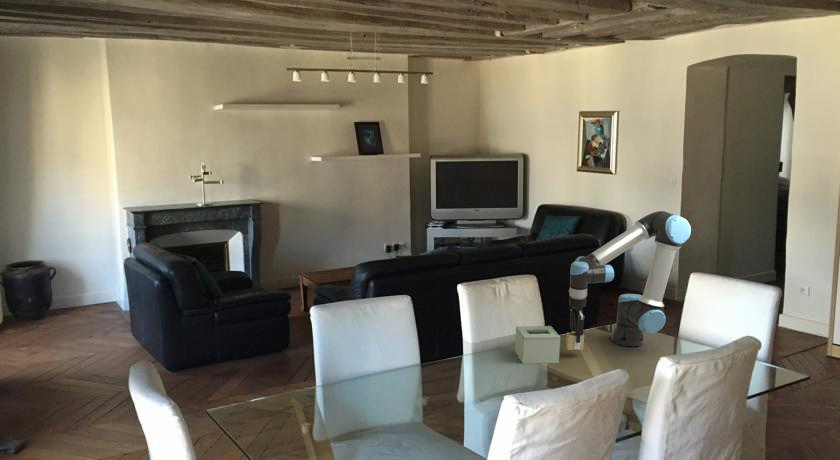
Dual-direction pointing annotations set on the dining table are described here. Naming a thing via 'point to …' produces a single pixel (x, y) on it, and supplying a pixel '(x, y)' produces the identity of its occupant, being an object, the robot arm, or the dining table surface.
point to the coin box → (537, 344)
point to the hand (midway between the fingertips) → (575, 347)
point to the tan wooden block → (571, 342)
